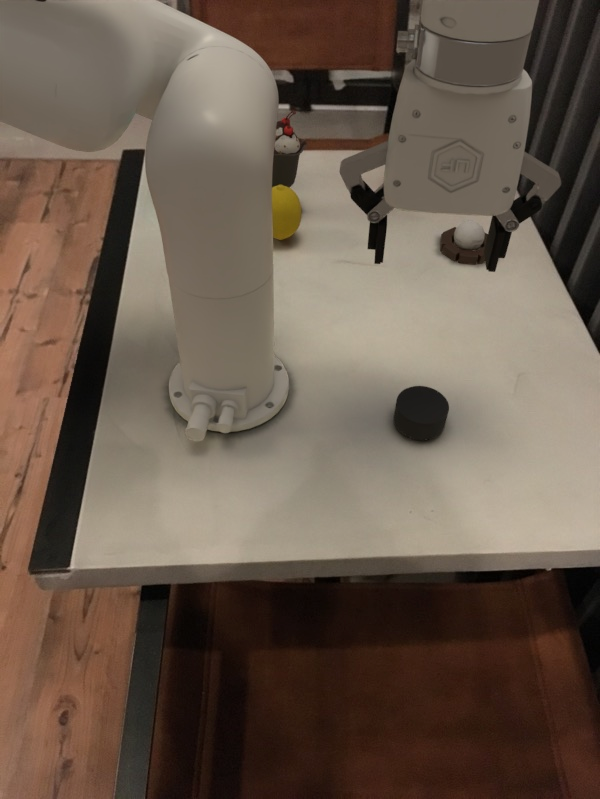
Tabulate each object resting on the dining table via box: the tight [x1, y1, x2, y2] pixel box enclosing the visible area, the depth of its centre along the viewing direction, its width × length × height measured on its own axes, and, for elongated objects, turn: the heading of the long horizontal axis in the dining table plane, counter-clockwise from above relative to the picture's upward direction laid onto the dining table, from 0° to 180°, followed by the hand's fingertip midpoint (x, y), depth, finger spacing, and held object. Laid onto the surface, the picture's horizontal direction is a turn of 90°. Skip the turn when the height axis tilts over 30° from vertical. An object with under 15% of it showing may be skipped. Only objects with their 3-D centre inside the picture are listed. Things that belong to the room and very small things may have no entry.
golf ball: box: [454, 219, 486, 251], centre depth 91 cm, size 4×4×4 cm
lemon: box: [272, 185, 302, 241], centre depth 90 cm, size 6×6×8 cm
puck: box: [392, 385, 450, 442], centre depth 69 cm, size 5×5×3 cm
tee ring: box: [439, 226, 488, 265], centre depth 92 cm, size 7×7×1 cm
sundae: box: [272, 109, 308, 189], centre depth 92 cm, size 7×7×15 cm
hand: (433, 258), depth 60 cm, fingers open, 9 cm apart
